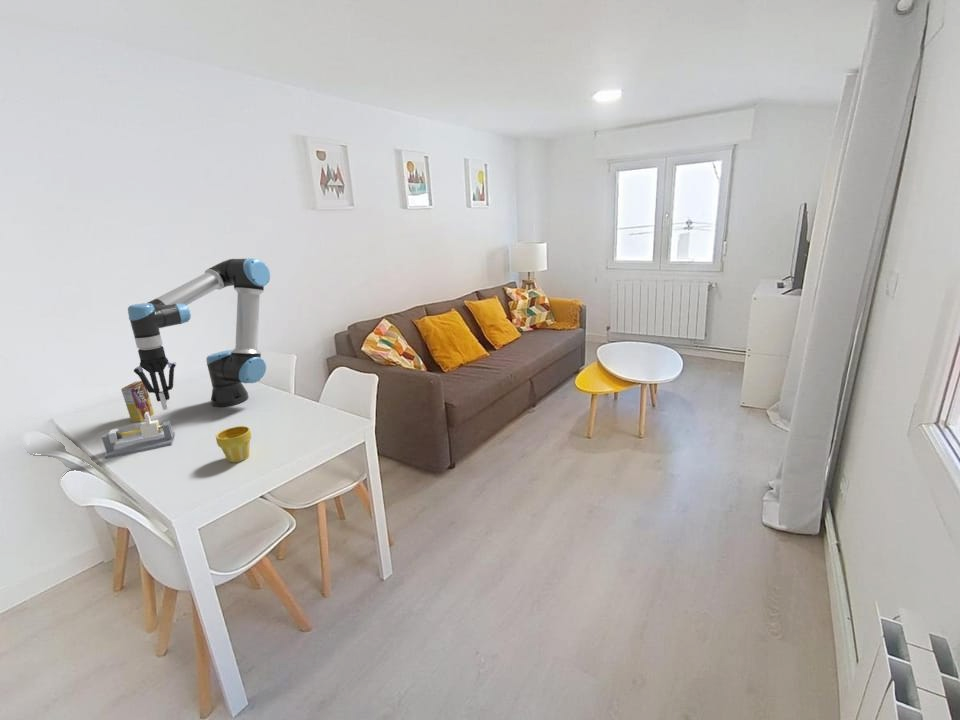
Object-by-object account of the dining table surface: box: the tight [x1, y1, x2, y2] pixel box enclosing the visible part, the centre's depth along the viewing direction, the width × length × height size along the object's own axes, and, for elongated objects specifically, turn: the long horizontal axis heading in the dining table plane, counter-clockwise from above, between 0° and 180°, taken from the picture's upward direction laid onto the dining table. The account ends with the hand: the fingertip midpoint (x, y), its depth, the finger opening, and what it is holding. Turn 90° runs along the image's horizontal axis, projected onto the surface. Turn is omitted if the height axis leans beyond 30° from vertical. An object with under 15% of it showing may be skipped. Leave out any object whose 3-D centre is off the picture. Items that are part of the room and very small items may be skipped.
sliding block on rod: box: [101, 420, 176, 459], centre depth 168 cm, size 20×10×8 cm, turn 117°
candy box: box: [121, 380, 155, 423], centre depth 193 cm, size 9×4×15 cm, turn 2°
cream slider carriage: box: [139, 412, 162, 439], centre depth 168 cm, size 5×4×8 cm
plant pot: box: [215, 425, 252, 463], centre depth 156 cm, size 10×10×10 cm
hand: (165, 408), depth 169 cm, fingers closed
